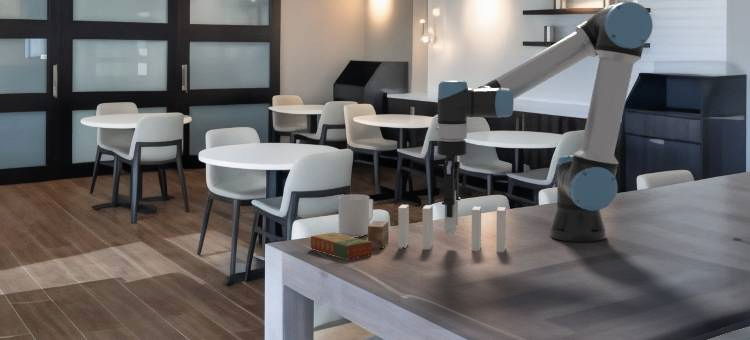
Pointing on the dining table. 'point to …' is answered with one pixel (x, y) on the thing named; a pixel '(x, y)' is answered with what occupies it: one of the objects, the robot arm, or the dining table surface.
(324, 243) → the carton
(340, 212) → the mug
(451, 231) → the domino
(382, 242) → the block
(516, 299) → the dining table surface
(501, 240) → the domino
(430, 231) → the domino
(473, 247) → the domino
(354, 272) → the dining table surface
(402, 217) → the domino
